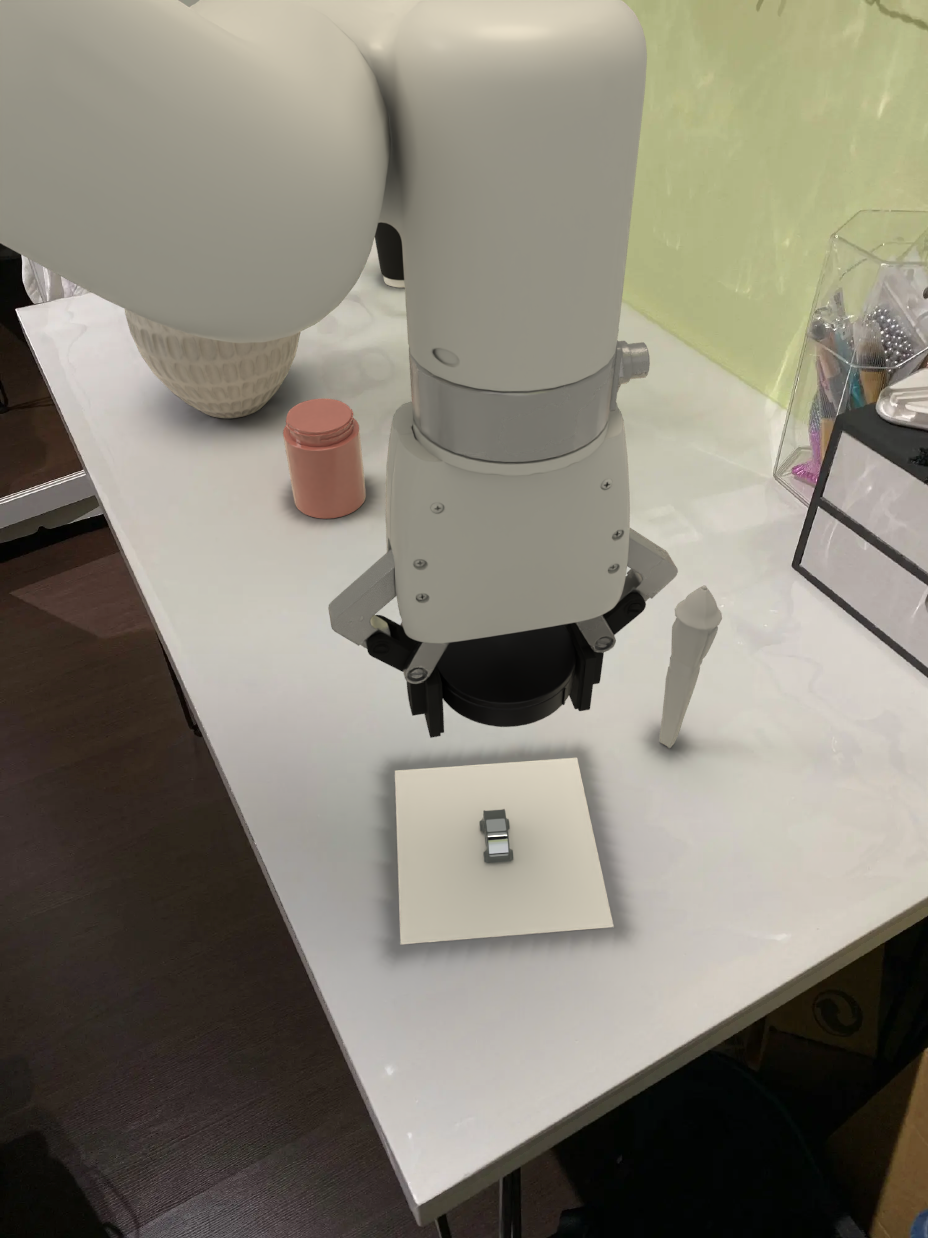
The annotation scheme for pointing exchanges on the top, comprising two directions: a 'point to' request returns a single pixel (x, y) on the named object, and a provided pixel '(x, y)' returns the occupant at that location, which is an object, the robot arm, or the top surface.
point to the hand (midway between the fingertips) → (503, 701)
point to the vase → (214, 367)
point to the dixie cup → (390, 254)
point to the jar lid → (509, 676)
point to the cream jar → (324, 458)
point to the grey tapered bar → (687, 657)
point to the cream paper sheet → (496, 852)
